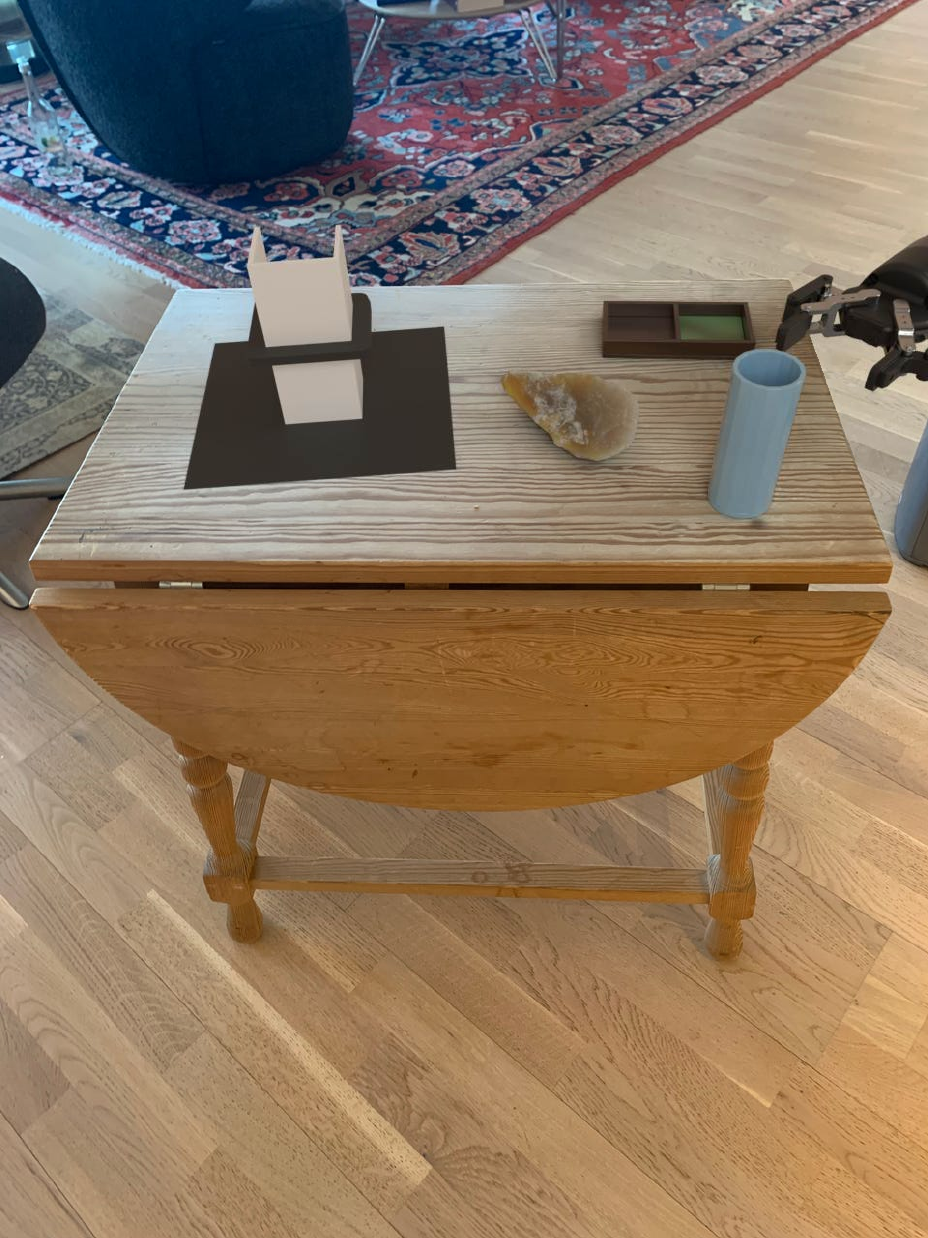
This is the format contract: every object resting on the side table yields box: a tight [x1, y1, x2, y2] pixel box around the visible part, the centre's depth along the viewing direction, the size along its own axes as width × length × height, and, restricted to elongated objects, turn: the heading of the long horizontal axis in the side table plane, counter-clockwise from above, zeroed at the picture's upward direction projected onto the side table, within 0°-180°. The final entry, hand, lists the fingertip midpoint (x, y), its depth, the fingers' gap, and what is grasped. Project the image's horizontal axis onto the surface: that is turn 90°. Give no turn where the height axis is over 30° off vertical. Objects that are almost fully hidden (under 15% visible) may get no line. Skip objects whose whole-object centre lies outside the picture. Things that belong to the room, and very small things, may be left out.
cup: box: [706, 348, 808, 520], centre depth 75 cm, size 5×5×13 cm
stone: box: [500, 369, 640, 462], centre depth 85 cm, size 7×6×15 cm
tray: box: [601, 300, 757, 361], centre depth 96 cm, size 8×15×2 cm, turn 84°
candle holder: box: [183, 224, 457, 490], centre depth 86 cm, size 25×24×16 cm
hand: (824, 360), depth 78 cm, fingers open, 8 cm apart
